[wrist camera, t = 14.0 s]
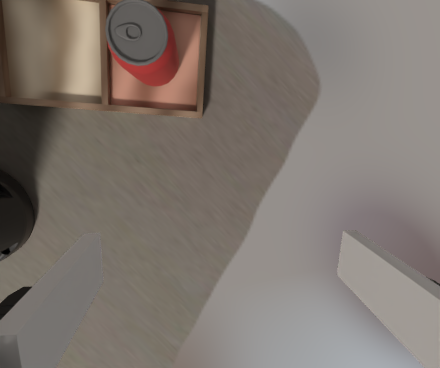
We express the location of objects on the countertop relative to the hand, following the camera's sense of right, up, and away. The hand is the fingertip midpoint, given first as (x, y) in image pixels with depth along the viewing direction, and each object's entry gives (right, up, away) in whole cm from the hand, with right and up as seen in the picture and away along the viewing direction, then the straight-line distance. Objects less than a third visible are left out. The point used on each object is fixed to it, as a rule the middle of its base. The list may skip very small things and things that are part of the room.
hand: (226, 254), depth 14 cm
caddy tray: (-16, +21, +22) cm, 34 cm away
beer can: (-9, +20, +22) cm, 31 cm away
